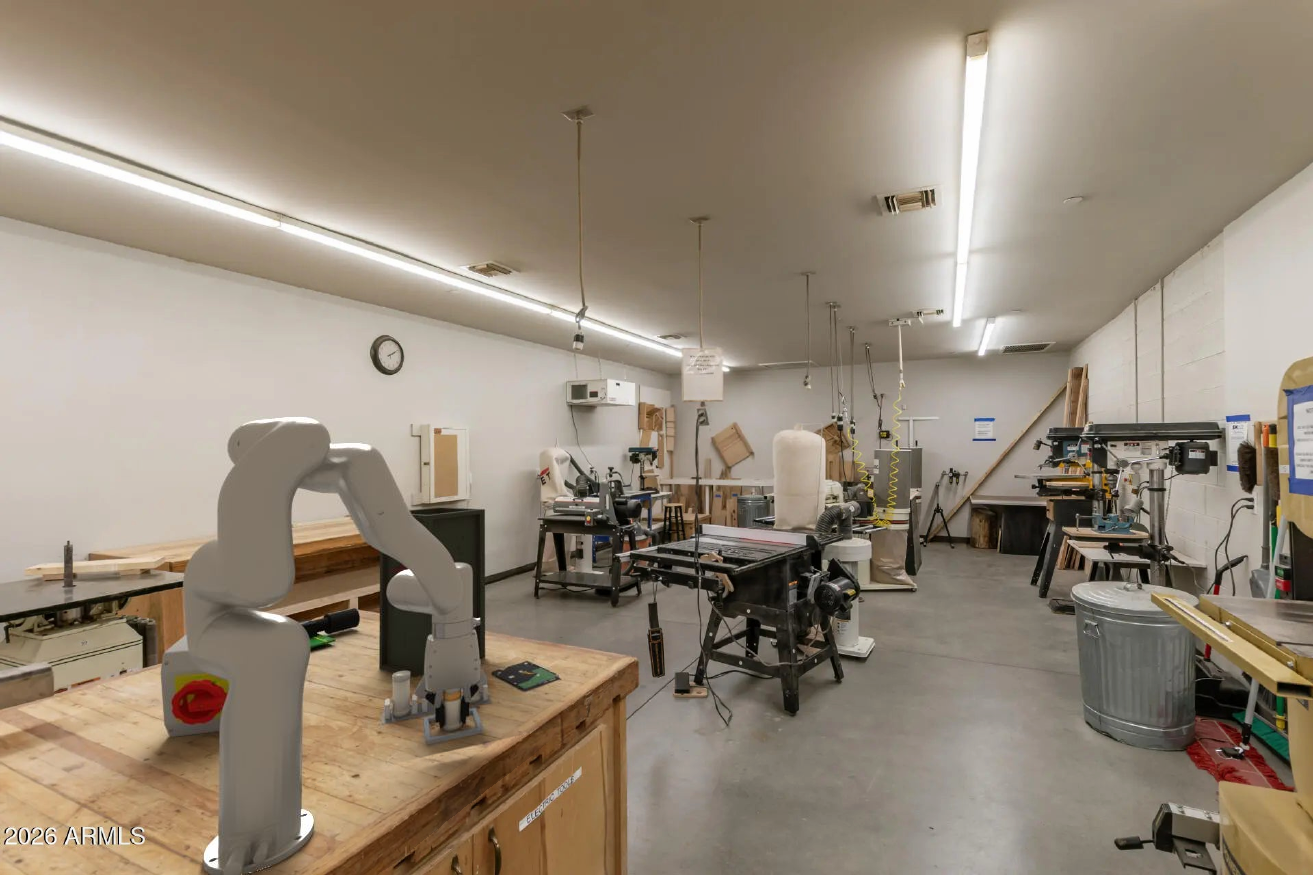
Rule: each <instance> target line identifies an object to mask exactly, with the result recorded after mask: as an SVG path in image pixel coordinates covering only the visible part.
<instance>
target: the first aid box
mask: <svg viewBox="0 0 1313 875" xmlns="http://www.w3.org/2000/svg"><path fill="white" fill-rule="evenodd" d="M409 511H410V513H411V514H412V516H413V517H414V518H415V519H416V520H417V521H418V522H420V523H421V524H422V525H423V526H424V527H425V528H426V529H427V530H428V531H429V532H430V533H431V534H432V535H433V536H435V537H436V538H437V539H438V540H439V541H440V542H441V543H442V544H443V545H444V547H445V548H446V549H447V551H448V552H449V553H450V555H451V557H452V559H453V561H454V563H466V564H469V565H470V566H471V568H472V572H473V617H474V618H476V619H477V618H480V625H477V626H474V628H473V630H476V634H477V640H478V648H479V659H481V660H483V659H482V658H484V659H486V509H483V508H468V507H467V508H463V507H447V506H446V507H445V506H444V507H443V506H439V507H437V506H436V507H429V508H428V507H427V508H417V509H409ZM404 570H408V568H407V567H405V566H404V565H403V564H402V563H400V562H399V561H397V560H396V559H394V558H392V557H390V556H389V555H387V554H384V553H383V552H381V551H379V637H378V638H379V645H378V647H379V648H378V649H379V650H378V651H379V652H378V653H379V654H378V656H379V657H378V658H379V661H378V662H379V663H378V664H379V667H378V668H379V670H382V671H387V672H389V673H393V674H394V673H396V672H399V671H410V679H411V678H414V677H415V678H416V677H423V675H424V660H425V649H426V642H427V638H428V636H429V635H432V614H427V613H420V612H412V611H406V610H401V609H398V608H396V607H395V606H393V605H392V604H391V603H390V602H389V600H388V598H387V586H388V584H389V582H390V581H391V579H392V578H393V577H394V576H395V575H397V574H398V573H400V572H402V571H404Z"/></svg>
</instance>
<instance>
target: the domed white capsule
mask: <svg viewBox="0 0 1313 875" xmlns="http://www.w3.org/2000/svg"><path fill="white" fill-rule="evenodd" d="M391 677H392V678H391V680H392V708H393V709H392V716H393V717H402V716H406V715H408V714H409V713H410V705H411V698H410V697H411V695H410V692H411V690H410V688H411V686H410V685H411V678H410V671H399V672H396V673H393V674H391Z"/></svg>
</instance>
